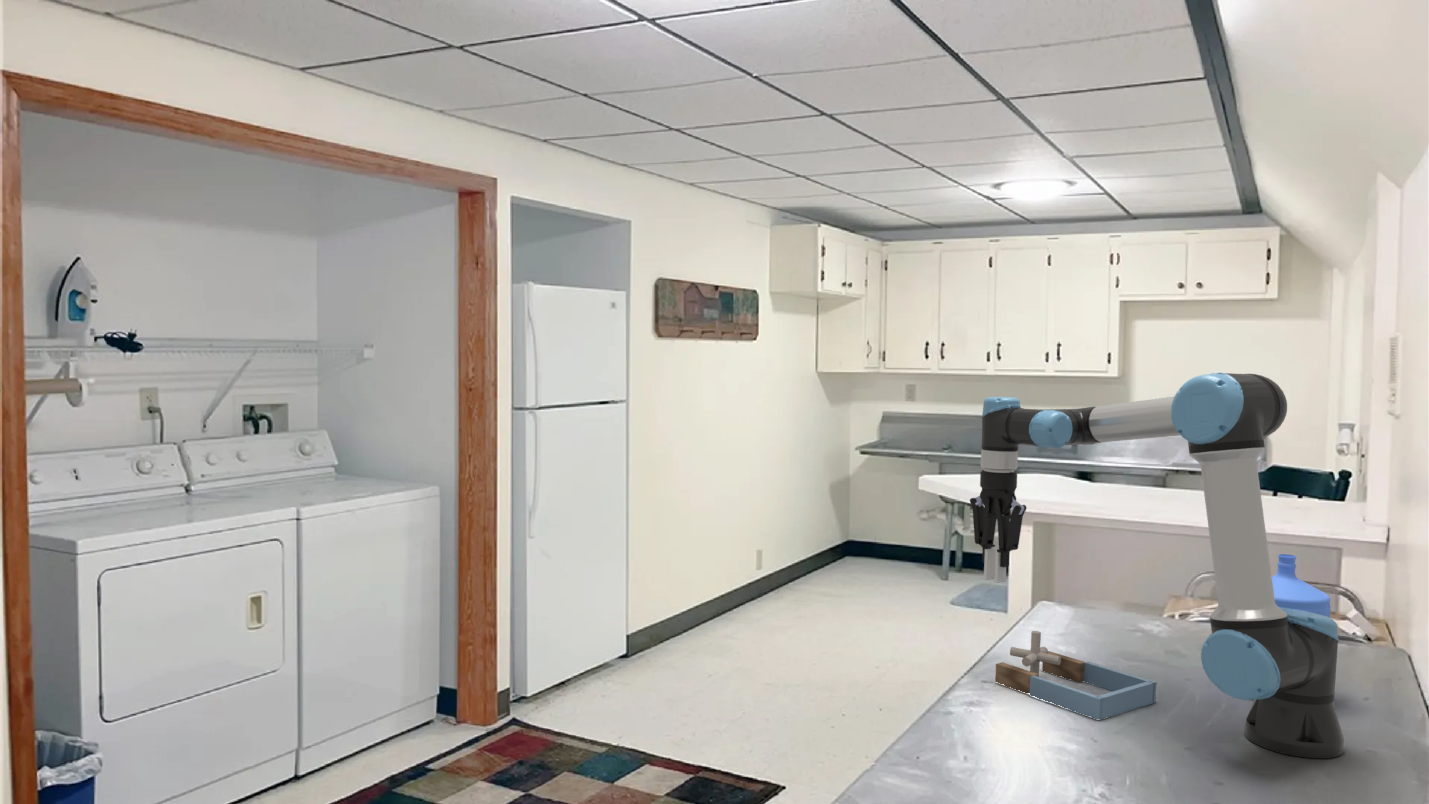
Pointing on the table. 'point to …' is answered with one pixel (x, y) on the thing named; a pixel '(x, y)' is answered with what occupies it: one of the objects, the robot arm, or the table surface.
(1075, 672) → the slot rails
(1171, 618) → the table surface
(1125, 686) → the bin
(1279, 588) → the water jug
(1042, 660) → the pipe connector
